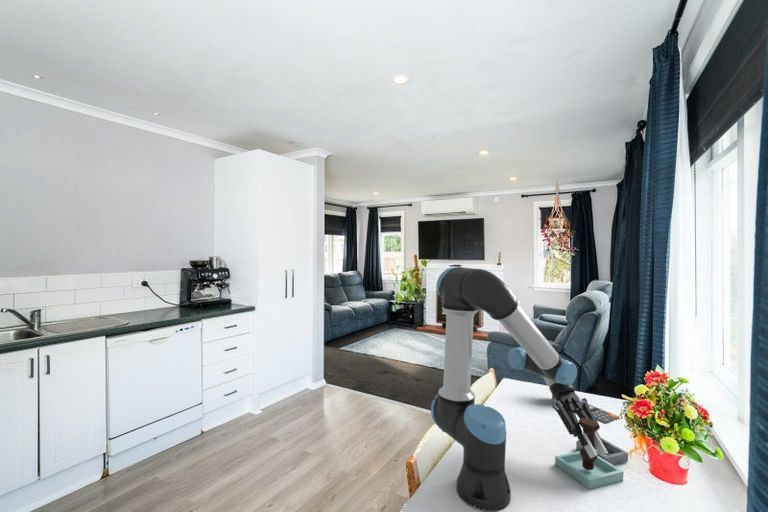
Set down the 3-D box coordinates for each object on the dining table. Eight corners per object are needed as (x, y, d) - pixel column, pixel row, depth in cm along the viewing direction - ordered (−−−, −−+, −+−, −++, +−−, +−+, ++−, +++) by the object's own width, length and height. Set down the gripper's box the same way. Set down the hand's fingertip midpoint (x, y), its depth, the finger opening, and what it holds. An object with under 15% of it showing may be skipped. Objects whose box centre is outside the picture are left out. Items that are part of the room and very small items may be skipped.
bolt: (600, 474, 113) (601, 426, 112) (582, 472, 114) (583, 424, 113) (593, 464, 118) (594, 418, 118) (576, 462, 119) (577, 416, 119)
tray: (589, 489, 108) (589, 480, 108) (554, 464, 120) (555, 456, 120) (623, 480, 112) (623, 471, 112) (587, 457, 124) (587, 449, 124)
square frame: (605, 467, 119) (605, 458, 119) (576, 449, 130) (576, 440, 130) (627, 461, 122) (628, 452, 122) (597, 444, 133) (598, 436, 133)
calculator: (605, 422, 149) (571, 408, 162) (605, 425, 149) (571, 410, 162) (621, 417, 155) (587, 403, 168) (621, 419, 155) (587, 405, 168)
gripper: (570, 385, 133) (610, 454, 118) (534, 390, 127) (571, 463, 112) (583, 376, 128) (627, 447, 112) (545, 380, 122) (586, 456, 107)
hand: (599, 455), depth 112 cm, fingers closed on bolt, 4 cm apart
